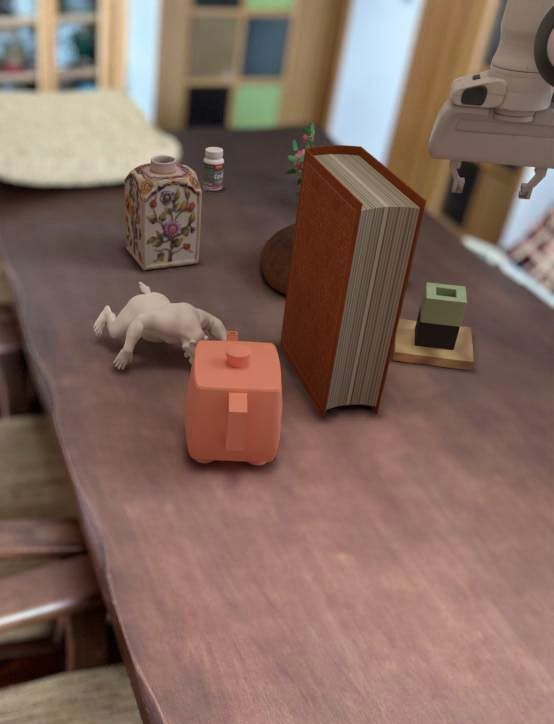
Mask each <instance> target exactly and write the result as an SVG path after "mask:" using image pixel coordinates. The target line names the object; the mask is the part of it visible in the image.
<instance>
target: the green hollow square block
mask: <svg viewBox="0 0 554 724" xmlns="http://www.w3.org/2000/svg"><path fill="white" fill-rule="evenodd" d="M467 299H468V298H467V288H466V286H464V285H456V284H455V285H454V284H446V283H438V282H428V281H427V282H425V286H424V290H423V294H422V298H421V303H420V306H421V314H420V322H424V323H432V324H440V325H449V326H457V327H460V326H462V322H463V319H464V315H465V311H466V309H467V305H468V300H467Z"/></svg>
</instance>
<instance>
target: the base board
mask: <svg viewBox="0 0 554 724" xmlns="http://www.w3.org/2000/svg"><path fill="white" fill-rule="evenodd" d="M416 322H417V320H414V319H413V320H412V319H404V318H399V323H398V327H397V331H396V336H395V340H394V345H393V349H392V361H395V362H402V363H409V364H410V363H411V364H418V365H426V366H434V367H442V368H448V369H449V368H450V369H456V370H463V371H464V370H465V371H473V366H474V364H475V358H474V347H473V335H472V327H470V326H462V325H461V326H460V329H459V333H458V336H457V340H456V343H455V347H454V350H448V349H440V348H432V347H424V346H416V345H415V326H416Z"/></svg>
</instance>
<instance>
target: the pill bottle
mask: <svg viewBox="0 0 554 724" xmlns="http://www.w3.org/2000/svg"><path fill="white" fill-rule="evenodd" d="M204 150H205V151H204V155H205V157H204V158H203V160H202V161H203V162H202V179H201V180H202V181H201V188H202V189H203V190H206V191H208V192H216V191H220V190H222V189H223V184H222V183H224V169H225V159H224V157H223V156H224V149H223V147H219V146H209V147H206V148H205V149H204ZM202 182H203V183H204V184H208V185H220V184H222V185H221V186H218V187H208V186H205V185H203V184H202Z"/></svg>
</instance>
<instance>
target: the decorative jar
mask: <svg viewBox="0 0 554 724" xmlns="http://www.w3.org/2000/svg"><path fill="white" fill-rule="evenodd" d="M201 188H202V187H201V183H200V182H199V179H198V175H197V173H196V171H195V170H193V169H192V167H190V166H188V165H185V164H182V163H177V158H176V157H175V156H172V155H167V154H159V155H155V156H152V157H151V158H150V162H149V163H143V164H140V165H138V166H136V167H134V168H133V169H131V170H130V171H129V172H128V174H127V175H126V176H125V178H124V241H125V242H124V243H125V249H126V251H127V252H128V253H129V254H130V255H131V257H132V258H133V259H134V261H135V262H136V263H137V264H138V266H139V267H140V268H141V270H142V271H143V272H144V271H150V270H158V269H167V268H175V267H182V266H190V265H196V264H198V263H199V258H200V244H201V231H202V228H201V227H202V226H201V224H202V201H203V200H202V197H203V196H202V195H203V191H202V189H201Z"/></svg>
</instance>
